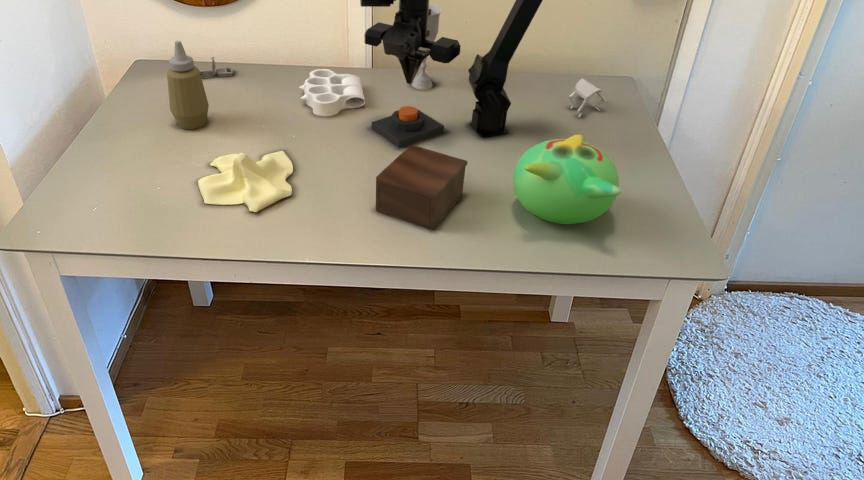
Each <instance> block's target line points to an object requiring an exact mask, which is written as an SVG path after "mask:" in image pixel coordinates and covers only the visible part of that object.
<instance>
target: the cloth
mask: <svg viewBox="0 0 864 480" xmlns="http://www.w3.org/2000/svg"><path fill="white" fill-rule="evenodd" d="M209 165H210V166H211V167H216V168H217V170H218V171H219V172H220V173H215V174H210V175H207V176H203V177H201V178H200V179H198V181H197V184H198V185H197V186H198V188H199V191H200V194H201V196H202V199H203V203H204V204H206V205H216V206H236V205H237V206H238V205H242V204H245V205H246V206H247V208H248V210H249V211H250V212H253V213H258V212H259V211H261V210H263V209H264V208H266V207H268V206H270V205H272V204H274V203H276V202H279V201H280V200H283V199H285V198H288V197H291V196H292V194H293V188H292V185H291V184H290V183H288V181H287V179H288V178H289V177H291V175H292V174H293V172H294V166H293V163H292V161H291V159H290V158H289V157H288V155H287V154H286V153H285V151H283V150H280V151H275V152H270V153H267V154H265V155H263V156H262V157H261V160H258V161H256V162H255V160H254V159H252V158H251V157H249V156H248V155H247V154H245V152H243V151H241V152H240V153H236V152H235V153H229V154H225V155H222V156H219V157H215V159H213V161H212V162H211V163H209Z"/></svg>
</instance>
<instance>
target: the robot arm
mask: <svg viewBox="0 0 864 480" xmlns="http://www.w3.org/2000/svg"><path fill="white" fill-rule="evenodd" d="M396 1H397V0H359V4H360V7H361V8H363V7H364V8H368V7H369V8H373V7H376V8H380V7H382V8H383V7H384V8H388V7H389V8H390V7H391V5H394V4H395V3H394V2H396ZM543 1H544V0H515V1H514V3H513V5H512V7H511V9H510V11H509V13H508V15H507V17H506V18H505V21H504V23H503V24H502V26H501V28H500V30H499V32H498V34H497V36H496V38H495V40H494V42H493V44H492V46H491V48H490V50H489V51H488V52H487V53H485V54H484V55H483V56H481V55H480V54H476V55H475V58H474V60H473V63H472V65H471V66H470V67H469V69H468V70H467V71H468V74H469V75H468V83H469V86H470V88H471V90H472V93H473V95H474V97H475V98H476V100H477V101H475V106H474V108H473V110H472V112H471V113H472V114H471V121H470V122H469V126H470V127H471V128H472V129H473V131H474V132H476V134H477V135H478V136H479V137H480V138H482V139H485V138H490V137H495V136H501V135H506V134H509V130H508V129H507V128H506V124H507V116H508V111H509V108H510V107H511V105H512V102H511V100H510V98H509V96H508V94H507V91H506V90H505V88H504V86H505V84H506V81H507V76H508V70H509V64H510V62H511V60H512V58H513V56H514V55H515V53H516V51H517V49H518V48H519V45H520V43H521V42H522V40H523V38H524V36H525V34H526V33H527V31H528V29H529V27H530V25H531V23H532V21H533V19H534V17H536V16H535V15H536V14H537V12H538V10H539V9H540V7H541V5H542V2H543ZM429 4H430V0H398V11H397V12H395V14H394V21H393V24H389V23H384V22H380V21H379V22H377V23H375V24H374V25H371V26H370V27H368V28H367V29H366V30H365V32H364V42H363V43H364V44H365V45H368V46H372V47H376V48H377V47H378V46H379V45H381V44H382V46H383V50H384V54H385V55H387V56H390V55H391V56H393V57H396V58H397V60H398V62H399V64H400V66H401V69H402V73H403V77H404V79H405V82H406V84H408V85H412V83H413V82H414V79H415V77H416V75H418V72H419V70H420V69H421V67H420V66H421V64H422V62H423V60H424V59H425V58H426V57H427V58H428V57H430V58H431V60H432V61H434V62H437V63H442V64H449V63H451V62H452V61H453V60H455V59H456V58H457V57H459V56H460V54H461V44H460V42H459V40H458V39H454V38H448V37H445V36H441V37H440V38H439V39H437V40H435V41H432V40H428V39H427V37H428V36H429V35H430V30H427V25H428V16H430V15H431V9H429Z"/></svg>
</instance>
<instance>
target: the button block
mask: <svg viewBox="0 0 864 480" xmlns="http://www.w3.org/2000/svg"><path fill="white" fill-rule="evenodd" d="M415 108H416V109H417V110H418V118H417V120H415V121H403V120H400V119H399V109H398V110H395V111H394V112H392V114H391V115H389V116H387V117H383V118H380V119H377V120H374V121H371V130H372V131H374V132H375V133H377V134H378V135H379V136H381V137H382V138H384V139H385V140H387V141H388V142H390V143H391V144H392V145H394V146H395V147H396V148H397V149H401V148H404V147H408V146H410V145H414V144H415V143H418V142H421V141H424V140H426V139H429V138H432V137H435V136H438V135H441V134H443V133H444V132H445V131H444V130H445V125H444V124H442V123H440V122H439V121H437V120H436V119H434V118H432V117H431V116H429V115H427V114H426V113H425V112H423V111H422V110H420V109H418V108H417V107H415Z"/></svg>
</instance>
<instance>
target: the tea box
mask: <svg viewBox="0 0 864 480" xmlns="http://www.w3.org/2000/svg"><path fill="white" fill-rule="evenodd" d="M465 174H466V167H465V168H464V169H463V170H462V171H461V172H460V173H459V174H458V175H457V176H456V177H455V179H454V180H453V181H452V182H451V183H450V184H449V185H448V186H447V187H446V188H445V190H444V191H443V192H442V193H441V194H440V195H439V196H438V197H437V198H436V199H431V198H428V197H425V196H422V195H419V194H416V193H413V192H410V191H407V190H404V189H401V188H397V187H394V186H391V185H388V184H385V183H382V182H379V181H376V180H375V212H378V213H381V214H384V215H386V216H390V217H393V218H395V219H398V220H401V221H405V222H408V223H410V224H413V225H416V226H419V227H422V228H424V229H428V230H431V231H434V229H435V228H437V226H438V225H439V224H440V223H441V221H443V219H444V218H445V217H446V215H447V214H448V213H449V212H450V211H451V209H453V208H454V206H455V205H456V204H457V203H458V202H459V200H460V199H461V198H462V197H463V192H464V183H465Z"/></svg>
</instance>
